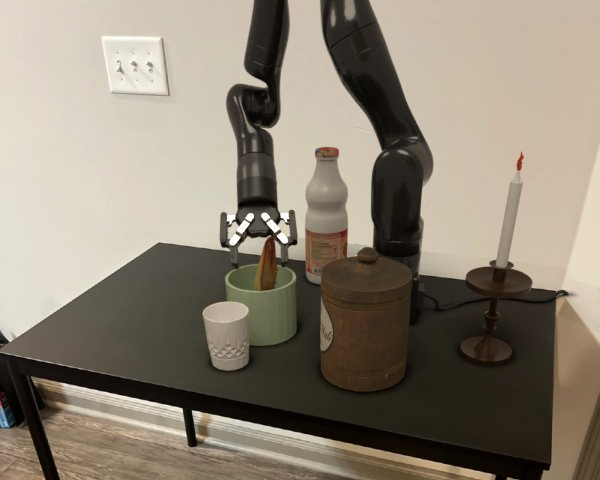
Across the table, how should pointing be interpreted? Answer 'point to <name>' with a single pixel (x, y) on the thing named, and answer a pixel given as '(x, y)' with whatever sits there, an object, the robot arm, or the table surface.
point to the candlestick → (497, 286)
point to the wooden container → (364, 321)
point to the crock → (265, 304)
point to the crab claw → (267, 267)
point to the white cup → (227, 334)
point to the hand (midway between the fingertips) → (259, 266)
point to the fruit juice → (325, 215)
